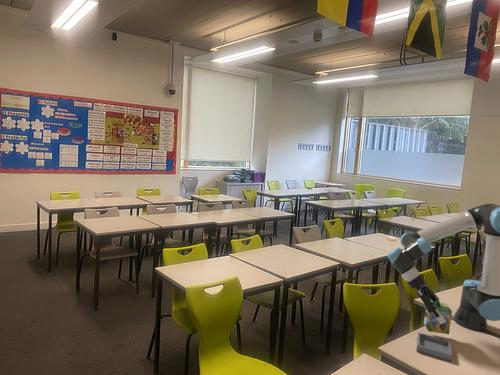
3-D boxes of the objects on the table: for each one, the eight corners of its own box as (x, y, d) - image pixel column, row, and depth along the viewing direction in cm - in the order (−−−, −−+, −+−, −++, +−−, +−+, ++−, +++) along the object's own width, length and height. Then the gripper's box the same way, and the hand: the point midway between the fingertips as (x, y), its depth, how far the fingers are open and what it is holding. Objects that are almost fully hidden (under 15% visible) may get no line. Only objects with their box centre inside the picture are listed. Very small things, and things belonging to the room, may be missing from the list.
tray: (448, 347, 167) (449, 341, 167) (450, 361, 155) (451, 355, 155) (417, 338, 173) (418, 332, 172) (416, 351, 161) (417, 345, 160)
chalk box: (449, 335, 169) (454, 304, 168) (427, 331, 171) (432, 301, 169) (443, 325, 178) (447, 296, 176) (422, 322, 180) (427, 293, 178)
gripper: (409, 274, 190) (438, 312, 184) (402, 288, 170) (435, 331, 164) (422, 267, 187) (452, 305, 181) (416, 280, 167) (450, 324, 161)
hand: (444, 318), depth 173 cm, fingers closed on chalk box, 11 cm apart
